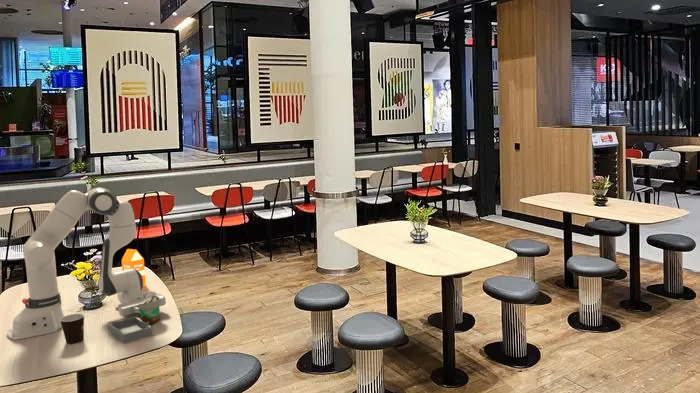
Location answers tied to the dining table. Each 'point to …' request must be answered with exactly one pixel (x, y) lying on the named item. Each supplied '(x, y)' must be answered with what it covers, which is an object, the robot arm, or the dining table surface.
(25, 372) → the dining table surface
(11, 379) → the dining table surface
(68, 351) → the dining table surface
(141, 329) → the bin
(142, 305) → the ice cream cake half
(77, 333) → the coffee mug
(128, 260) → the orange juice
